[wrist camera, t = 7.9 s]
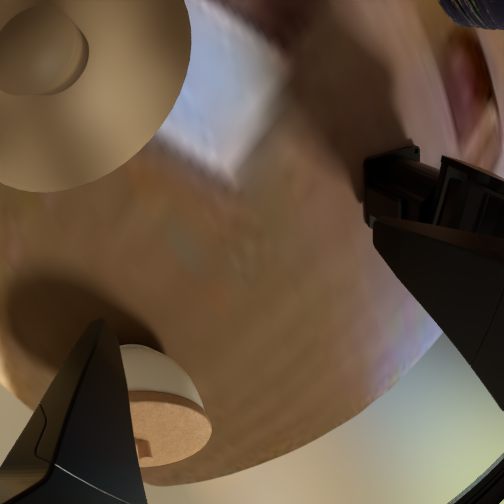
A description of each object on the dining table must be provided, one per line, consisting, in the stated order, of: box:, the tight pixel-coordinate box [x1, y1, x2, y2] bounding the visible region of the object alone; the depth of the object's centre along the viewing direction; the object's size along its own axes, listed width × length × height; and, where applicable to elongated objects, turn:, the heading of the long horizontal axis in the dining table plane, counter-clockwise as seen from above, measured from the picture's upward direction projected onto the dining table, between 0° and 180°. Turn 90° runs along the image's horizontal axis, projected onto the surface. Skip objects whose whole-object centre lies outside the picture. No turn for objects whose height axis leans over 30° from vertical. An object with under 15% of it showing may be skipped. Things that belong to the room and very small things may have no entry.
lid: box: [0, 0, 191, 192], centre depth 8 cm, size 12×12×4 cm
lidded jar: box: [120, 344, 212, 467], centre depth 21 cm, size 11×11×9 cm
